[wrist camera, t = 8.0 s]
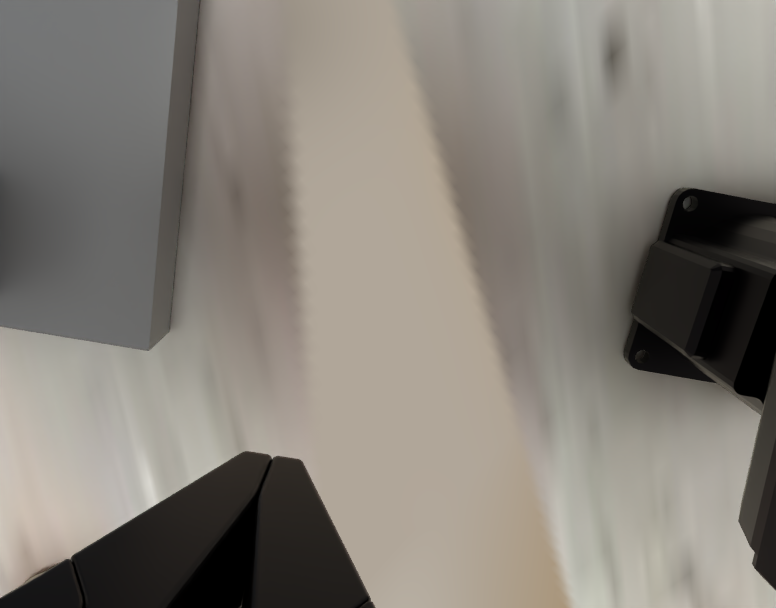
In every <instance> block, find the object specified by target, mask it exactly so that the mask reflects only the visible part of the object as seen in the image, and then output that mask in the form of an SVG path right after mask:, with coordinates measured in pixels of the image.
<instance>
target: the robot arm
mask: <svg viewBox="0 0 776 608" xmlns="http://www.w3.org/2000/svg"><path fill="white" fill-rule="evenodd" d="M689 196H690V197H691V198H692V205H691V206H690V208H688V209H687V210H685V209H684V208H683V202H684V200H685V198H687V197H689ZM631 312H632V314H633V316H634V321H633V324H632V327H631V331H630V334H629V337H628V340H627V344H626V347H625V350H624V357H625V360H626V361H627V362H628V363H629V364H630V365H631V366H632V367H633V368H635V369H638V370H643V371H649V372H655V373H660V374H666V375H672V376H678V377H684V378H690V379H695V380H701V381H707V382H713V383H718V384H719V385H721V386H722V387H723V388H725V389H726V390H727V391H729V392H730V393H731V394H733V395H734V396H736V397H737V398H738V399H740V400H741V401H742V402H744V403H745V404H746V405H748V406H749V407H751V408H752V409H753V410H755V411H756V412H757V413H759V414H760V415H761V418H760V423H759V427H758V432H757V436H756V440H755V445H754V449H753V454H752V458H751V463H750V467H749V471H748V476H747V480H746V485H745V489H744V494H743V498H742V503H741V509H740V515H739V520H738V521H739V523H740V525H741V528H742V530H743V532H744V534H745V536H746V538H747V541H748V543H749V545H750V547H751V548H752V549H753V550H754V552H755V554H754V558H753V562H752V564H753V566H754V568H755V569H756V570H757V572H758V573H759V574H760V575H761V576H762V577H763V578H764V579H765V580H766V581H767V582H768V583H769V584H770V585H771V586H772V587H773V588H774V589H775V590H776V204H772V203H767V202H762V201H757V200H751V199H746V198H741V197H736V196H731V195H725V194H720V193H715V192H710V191H705V190H699V189H694V188H682V189H679V190H678V191H676V192H675V193H674V194H673V196H672V198H671V200H670V203H669V207H668V210H667V213H666V216H665V220H664V223H663V226H662V229H661V233H660V236H659V239H658V241H657V242H656V243H655V244H653V245H652V246H651V248H650V251H649V255H648V258H647V261H646V264H645V268H644V271H643V274H642V278H641V281H640V284H639V287H638V291H637V294H636V297H635V301H634V304H633V307H632V311H631ZM640 350H645V354H644V356H643V357H642V358H640V359H635V355H636V354H637V352H639V351H640ZM0 608H375V605H374V604H373V602H371V598H370V596H369V594H368V592H367V590H366V588H365V586H364V584H363V582H362V580H361V578H360V576H359V574H358V572H357V570H356V568H355V566H354V564H353V562H352V560H351V558H350V556H349V554H348V552H347V550H346V548H345V546H344V544H343V543H342V540H341V538H340V536H339V534H338V532H337V530H336V528H335V526H334V524H333V522H332V520H331V518H330V516H329V514H328V512H327V510H326V508H325V506H324V504H323V502H322V500H321V498H320V496H319V494H318V492H317V490H316V488H315V486H314V484H313V482H312V480H311V478H310V476H309V474H308V472H307V470H306V468H305V466H304V464H303V462H302V461H301V460H299V459H294V458H288V457H281V456H276V457H274V458H273V459H272V458H271V456H270V455H268V454H262V453H255V452H249V451H245V452H242V453H240V454H239V455H237V456H235V457H234V458H232V459H230V460H229V461H227V462H226V463H224V464H222V465H221V466H219V467H217V468H216V469H214V470H212V471H211V472H209V473H207V474H206V475H204V476H202V477H201V478H199V479H198V480H196V481H194V482H193V483H191V484H189V485H188V486H186V487H184V488H183V489H181V490H179V491H178V492H176V493H175V494H173V495H171V496H170V497H168V498H166V499H165V500H163V501H161V502H160V503H158V504H156V505H155V506H153V507H151V508H150V509H148V510H147V511H145V512H143V513H142V514H140V515H138V516H137V517H135V518H133V519H132V520H130V521H128V522H127V523H125V524H124V525H122V526H120V527H119V528H117V529H115V530H114V531H112V532H110V533H109V534H107V535H105V536H104V537H102V538H100V539H99V540H97V541H96V542H94V543H92V544H91V545H89V546H87V547H86V548H84V549H82V550H81V551H79V552H77V553H76V554H74V555H73V556H72V557H71V559H66V560H64V561H62V562H61V563H59V564H57V565H56V566H54V567H52V568H51V569H49V570H47V571H46V572H44V573H42V574H41V575H39V576H37V577H36V578H34V579H32V580H30V581H29V582H27V583H25V584H23V585H22V586H20V587H18V588H16V589H15V590H13V591H11V592H10V593H8V594H6V595H4V596H3V597H1V598H0Z"/></svg>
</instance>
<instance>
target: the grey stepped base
mask: <svg viewBox="0 0 776 608" xmlns="http://www.w3.org/2000/svg"><path fill="white" fill-rule="evenodd" d="M199 3H200V0H0V326H1V327H7V328H13V329H19V330H25V331H31V332H37V333H43V334H49V335H55V336H61V337H67V338H73V339H80V340H86V341H92V342H98V343H104V344H110V345H116V346H122V347H128V348H134V349H140V350H146V351H149V350H150V349H151V348H152V347H153V346H154V345H156V344H157V343H158V342H159V341H160V340H161V339H162V338H163V337H164V336H165V335H166V334H167V333H168V332H169V328H170V317H171V306H172V295H173V284H174V274H175V263H176V252H177V241H178V230H179V220H180V209H181V198H182V187H183V176H184V166H185V155H186V144H187V133H188V122H189V112H190V101H191V90H192V79H193V68H194V57H195V47H196V36H197V25H198V14H199Z"/></svg>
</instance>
